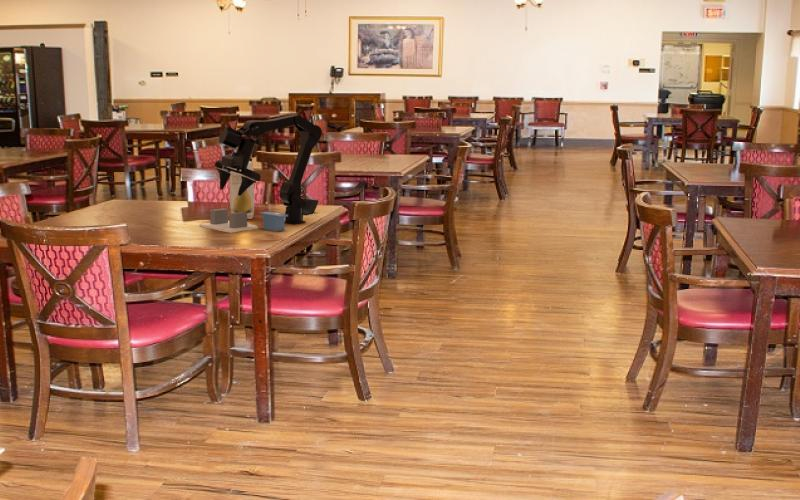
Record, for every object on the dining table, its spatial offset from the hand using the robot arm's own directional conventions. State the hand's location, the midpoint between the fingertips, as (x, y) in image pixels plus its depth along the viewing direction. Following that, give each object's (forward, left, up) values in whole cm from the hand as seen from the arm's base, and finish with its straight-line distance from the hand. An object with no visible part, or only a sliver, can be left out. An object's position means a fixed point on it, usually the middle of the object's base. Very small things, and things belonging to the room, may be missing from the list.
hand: (229, 192), depth 327 cm
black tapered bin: (-45, -9, -14) cm, 48 cm away
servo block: (-10, +13, -14) cm, 21 cm away
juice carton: (-18, -15, -14) cm, 28 cm away
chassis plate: (0, -1, -13) cm, 14 cm away
